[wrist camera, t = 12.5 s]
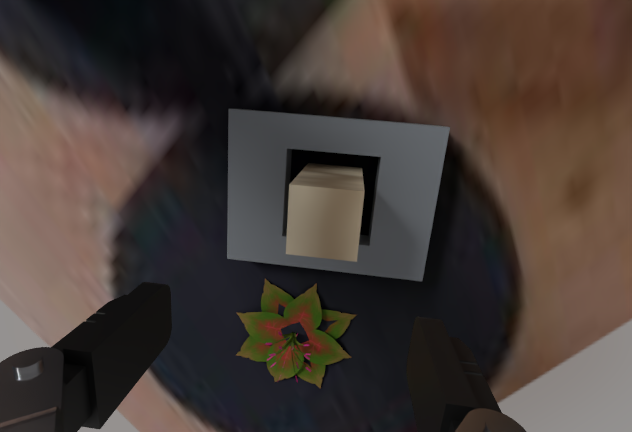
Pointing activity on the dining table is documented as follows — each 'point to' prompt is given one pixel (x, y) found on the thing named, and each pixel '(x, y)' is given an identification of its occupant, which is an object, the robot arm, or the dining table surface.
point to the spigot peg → (325, 212)
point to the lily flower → (293, 335)
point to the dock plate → (337, 137)
